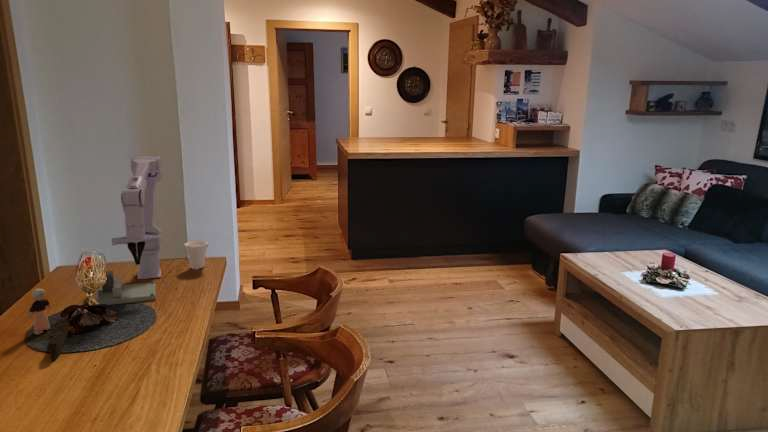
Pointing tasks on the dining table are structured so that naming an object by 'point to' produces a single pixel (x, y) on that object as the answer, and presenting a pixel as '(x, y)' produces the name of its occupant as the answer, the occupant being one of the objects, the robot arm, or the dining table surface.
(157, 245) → the robot arm
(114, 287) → the sliding jaw
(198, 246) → the cup
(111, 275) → the dark steel block
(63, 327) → the hand tool
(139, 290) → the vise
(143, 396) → the dining table surface
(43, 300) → the grandmother figurine
